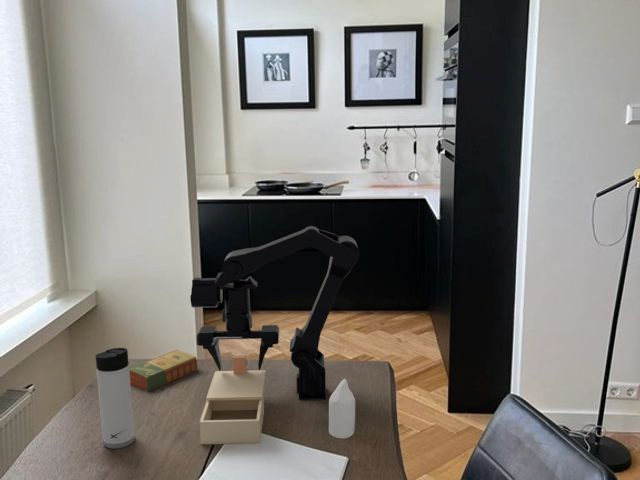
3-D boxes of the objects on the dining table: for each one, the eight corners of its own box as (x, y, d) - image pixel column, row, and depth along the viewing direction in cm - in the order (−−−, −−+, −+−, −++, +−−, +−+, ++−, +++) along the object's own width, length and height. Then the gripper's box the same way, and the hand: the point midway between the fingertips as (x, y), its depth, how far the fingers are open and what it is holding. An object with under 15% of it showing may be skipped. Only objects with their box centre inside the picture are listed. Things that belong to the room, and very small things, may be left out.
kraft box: (264, 410, 142) (263, 390, 141) (259, 443, 128) (259, 420, 127) (210, 411, 142) (209, 391, 141) (200, 444, 128) (199, 422, 127)
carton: (198, 371, 165) (197, 355, 164) (147, 393, 153) (146, 376, 152) (177, 363, 170) (176, 348, 169) (126, 384, 158) (125, 368, 157)
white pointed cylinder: (326, 373, 133) (352, 371, 133) (327, 425, 135) (353, 423, 136) (330, 385, 127) (357, 383, 128) (330, 439, 129) (357, 438, 130)
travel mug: (118, 452, 125) (110, 358, 121) (96, 443, 129) (88, 352, 125) (142, 438, 131) (135, 348, 126) (120, 430, 134) (113, 342, 130)
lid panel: (265, 372, 150) (265, 354, 149) (262, 399, 136) (261, 379, 135) (215, 373, 149) (214, 355, 148) (206, 400, 136) (205, 380, 135)
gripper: (279, 295, 153) (280, 355, 156) (202, 296, 153) (205, 357, 156) (277, 309, 142) (279, 374, 146) (194, 311, 142) (198, 375, 145)
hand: (240, 369), depth 148 cm, fingers open, 9 cm apart
